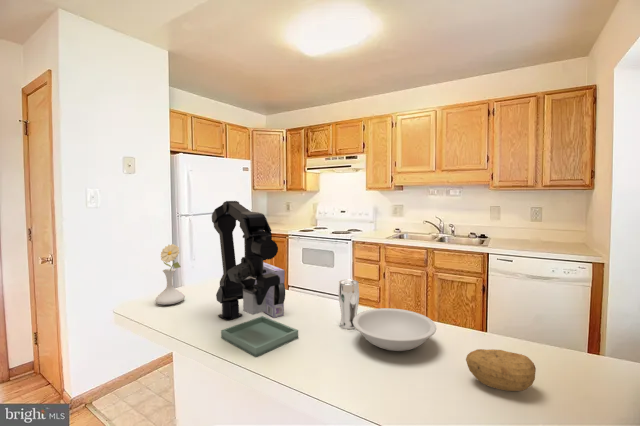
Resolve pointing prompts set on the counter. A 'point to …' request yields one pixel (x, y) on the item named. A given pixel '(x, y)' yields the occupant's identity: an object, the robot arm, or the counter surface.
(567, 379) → the counter surface
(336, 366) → the counter surface
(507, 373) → the potato
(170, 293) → the flower in vase
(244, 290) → the capped grey block
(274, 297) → the cake pan box
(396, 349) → the soup bowl
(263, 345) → the tray
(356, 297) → the beer glass
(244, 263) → the robot arm
